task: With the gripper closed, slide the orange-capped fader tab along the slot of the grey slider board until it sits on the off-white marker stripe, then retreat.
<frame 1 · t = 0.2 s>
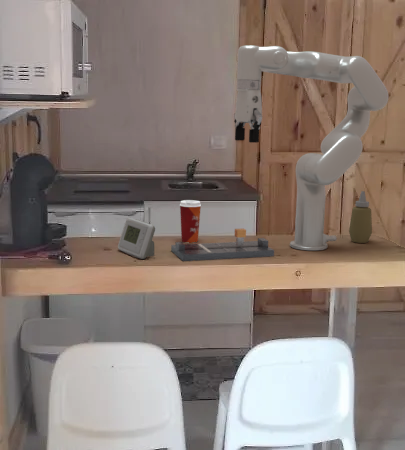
hand: (246, 141, 210), 36 cm above the table, tool pointing down, fingers open, 9 cm apart
paper cup: (189, 241, 229), on the table
digital clock: (136, 255, 209), on the table
squeeze bottle: (359, 242, 234), on the table
grey slider board: (222, 253, 212), on the table
fader tab: (240, 237, 213), point 5 cm above the table, slide at 0.0 cm
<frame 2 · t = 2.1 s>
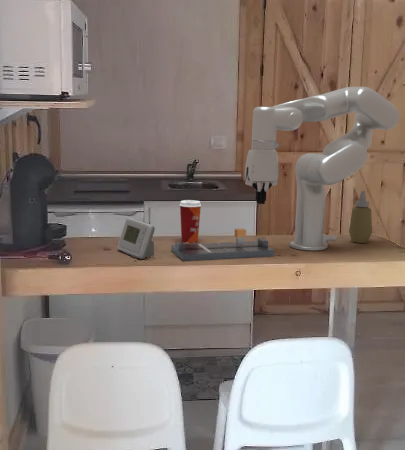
hand: (260, 203, 212), 16 cm above the table, tool pointing down, fingers closed
nothing on the table moved.
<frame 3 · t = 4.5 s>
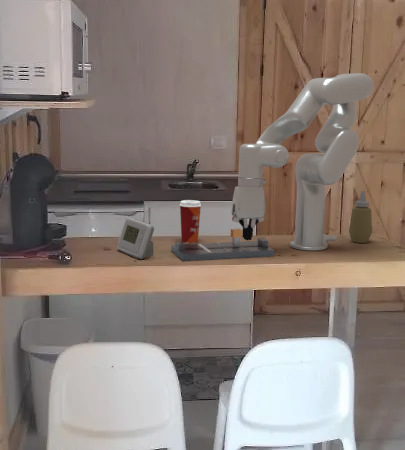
hand: (247, 239, 213), 4 cm above the table, tool pointing down, fingers closed
fader tab: (236, 237, 212), point 5 cm above the table, slide at 1.3 cm, touching gripper
everything else where it was.
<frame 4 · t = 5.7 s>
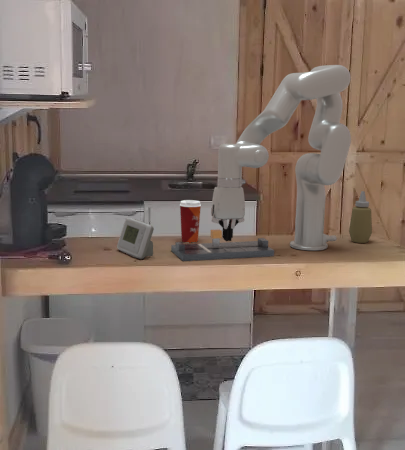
hand: (227, 240, 211), 4 cm above the table, tool pointing down, fingers closed
fader tab: (216, 238, 210), point 5 cm above the table, slide at 8.2 cm, touching gripper
everything else where it was.
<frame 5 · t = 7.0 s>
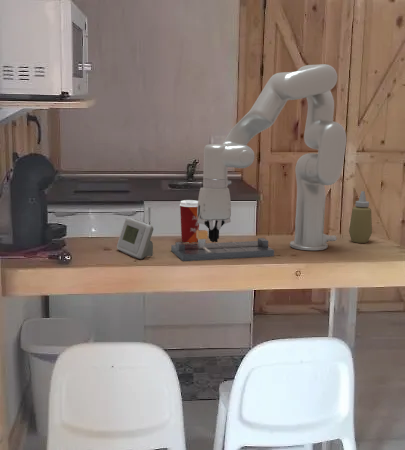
hand: (213, 241, 210), 4 cm above the table, tool pointing down, fingers closed
fader tab: (201, 239, 209), point 5 cm above the table, slide at 12.9 cm, touching gripper
everything else where it was.
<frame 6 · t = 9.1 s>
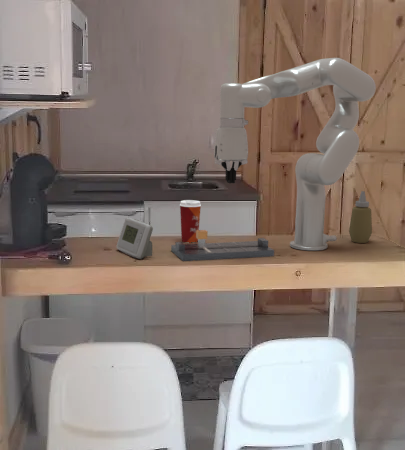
hand: (230, 182, 208), 23 cm above the table, tool pointing down, fingers closed
fader tab: (201, 239, 209), point 5 cm above the table, slide at 13.0 cm
everything else where it was.
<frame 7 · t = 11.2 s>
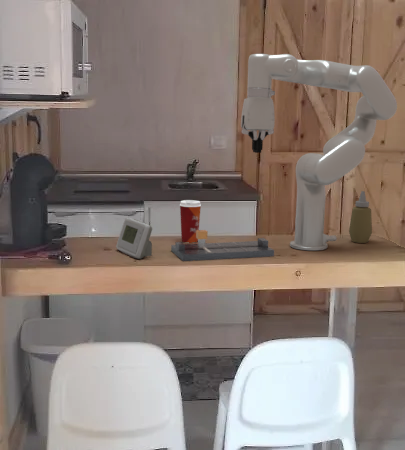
hand: (257, 152, 212), 32 cm above the table, tool pointing down, fingers closed
nothing on the table moved.
at the end: fader tab slide at 13.0 cm; fader tab touching nothing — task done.
